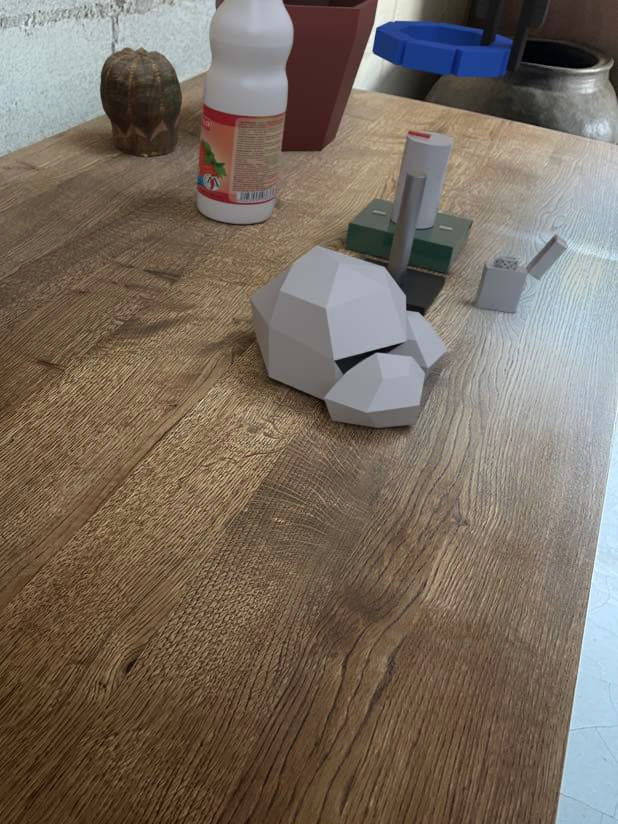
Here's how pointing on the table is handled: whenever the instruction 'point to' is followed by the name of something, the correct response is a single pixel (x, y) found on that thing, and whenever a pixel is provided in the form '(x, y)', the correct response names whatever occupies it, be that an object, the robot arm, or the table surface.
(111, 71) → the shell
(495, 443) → the table surface
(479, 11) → the robot arm
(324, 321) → the rock
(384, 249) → the panel
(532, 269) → the lighter
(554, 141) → the table surface
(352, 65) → the bucket
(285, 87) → the fruit juice
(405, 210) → the peg stand
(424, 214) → the tap knob
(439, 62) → the ring
